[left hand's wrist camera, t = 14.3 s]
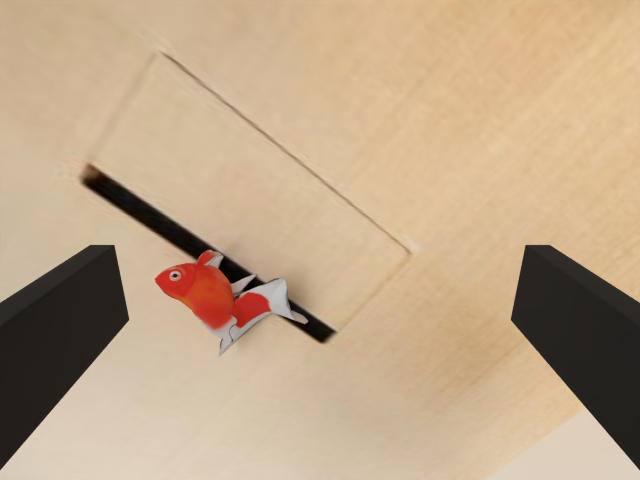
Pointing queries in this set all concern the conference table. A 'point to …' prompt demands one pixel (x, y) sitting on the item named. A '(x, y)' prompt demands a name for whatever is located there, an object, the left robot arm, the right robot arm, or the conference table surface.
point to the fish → (224, 297)
